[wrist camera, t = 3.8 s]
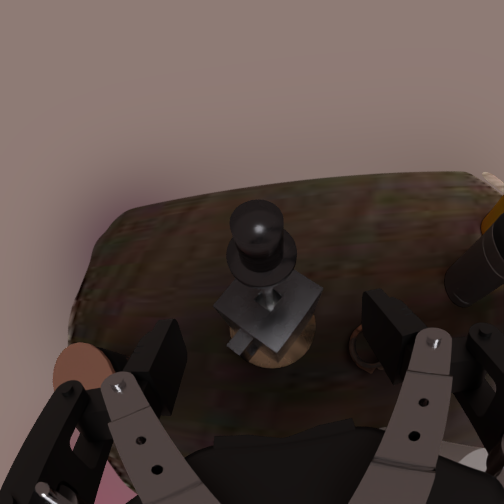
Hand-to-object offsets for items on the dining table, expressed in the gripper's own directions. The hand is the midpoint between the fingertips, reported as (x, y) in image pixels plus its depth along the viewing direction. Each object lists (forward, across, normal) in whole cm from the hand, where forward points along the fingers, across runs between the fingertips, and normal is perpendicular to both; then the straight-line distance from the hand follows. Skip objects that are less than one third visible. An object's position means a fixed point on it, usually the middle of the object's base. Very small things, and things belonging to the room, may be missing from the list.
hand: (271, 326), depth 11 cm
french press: (+29, 0, +19) cm, 35 cm away
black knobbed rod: (+21, 0, +10) cm, 23 cm away
